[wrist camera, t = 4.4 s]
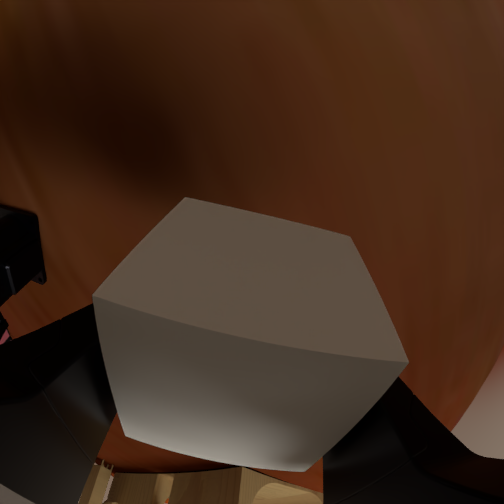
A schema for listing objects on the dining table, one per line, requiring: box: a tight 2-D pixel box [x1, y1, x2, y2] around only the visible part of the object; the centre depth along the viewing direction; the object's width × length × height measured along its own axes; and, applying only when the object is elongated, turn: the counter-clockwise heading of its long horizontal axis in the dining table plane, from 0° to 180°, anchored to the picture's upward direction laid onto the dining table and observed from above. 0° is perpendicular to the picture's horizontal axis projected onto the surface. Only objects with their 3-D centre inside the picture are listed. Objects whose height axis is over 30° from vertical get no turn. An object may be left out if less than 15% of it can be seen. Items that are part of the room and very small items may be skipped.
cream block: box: [92, 197, 409, 472], centre depth 7 cm, size 5×5×5 cm
